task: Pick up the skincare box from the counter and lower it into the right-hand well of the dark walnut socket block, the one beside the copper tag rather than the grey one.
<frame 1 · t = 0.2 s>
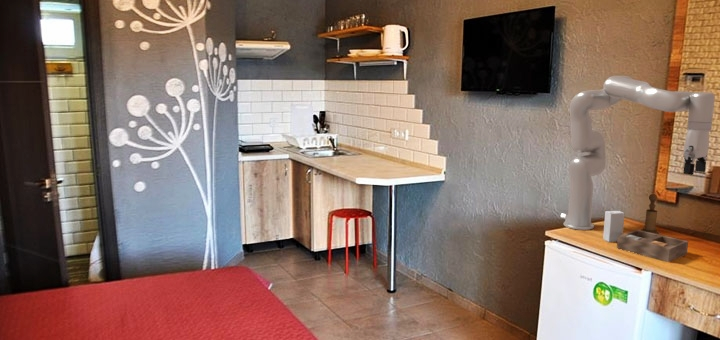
hand: (694, 172, 199), 31 cm above the worktop, tool pointing down, fingers open, 9 cm apart
skincare box: (612, 241, 219), on the worktop
socket block: (651, 251, 206), on the worktop
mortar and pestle: (649, 236, 225), on the worktop
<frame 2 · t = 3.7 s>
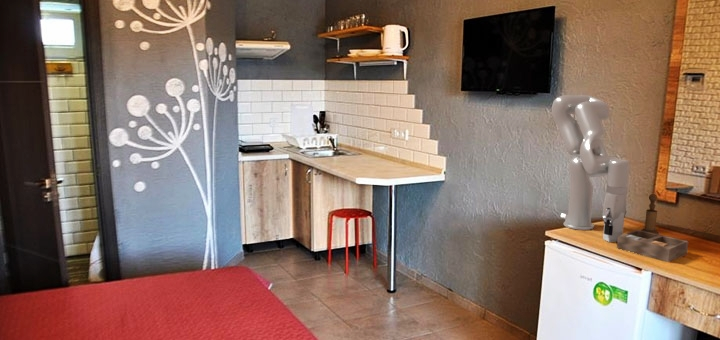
hand: (613, 232, 218), 3 cm above the worktop, tool pointing down, fingers closed on skincare box, 7 cm apart
skincare box: (612, 241, 219), on the worktop, touching gripper
everything else where it was.
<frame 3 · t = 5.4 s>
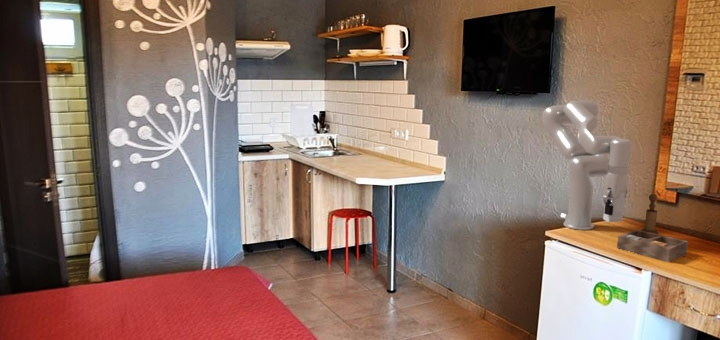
hand: (613, 212, 218), 12 cm above the worktop, tool pointing down, fingers closed on skincare box, 7 cm apart
skincare box: (612, 221, 218), point 8 cm above the worktop, touching gripper
everything else where it was.
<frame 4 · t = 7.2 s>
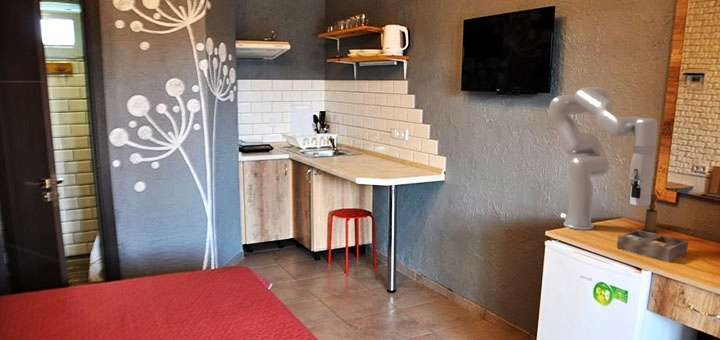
hand: (640, 196, 208), 20 cm above the worktop, tool pointing down, fingers closed on skincare box, 7 cm apart
skincare box: (639, 205, 209), point 17 cm above the worktop, touching gripper
everything else where it was.
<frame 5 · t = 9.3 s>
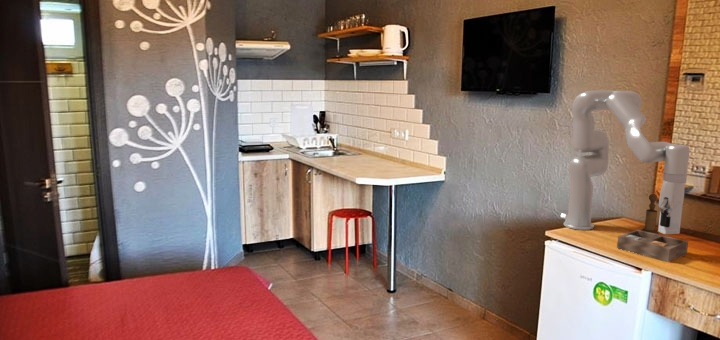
hand: (669, 224, 201), 11 cm above the worktop, tool pointing down, fingers closed on skincare box, 7 cm apart
skincare box: (668, 233, 202), point 8 cm above the worktop, touching gripper
everything else where it was.
when the fingers open (7 cm above the worktop, at t = 10.8 s): skincare box drops 2 cm, resting on socket block.
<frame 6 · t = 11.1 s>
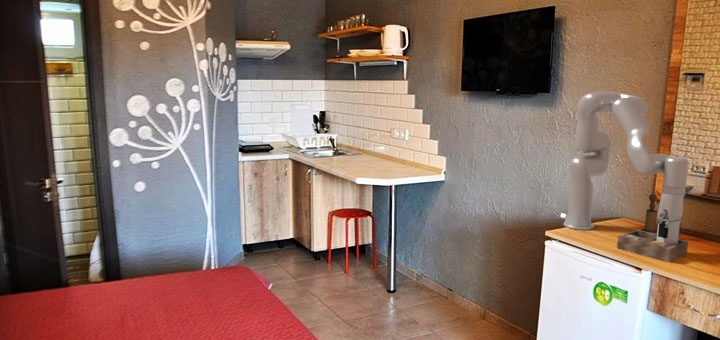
hand: (668, 235, 202), 7 cm above the worktop, tool pointing down, fingers open, 9 cm apart
skincare box: (665, 251, 203), point 1 cm above the worktop, touching socket block
everything else where it was.
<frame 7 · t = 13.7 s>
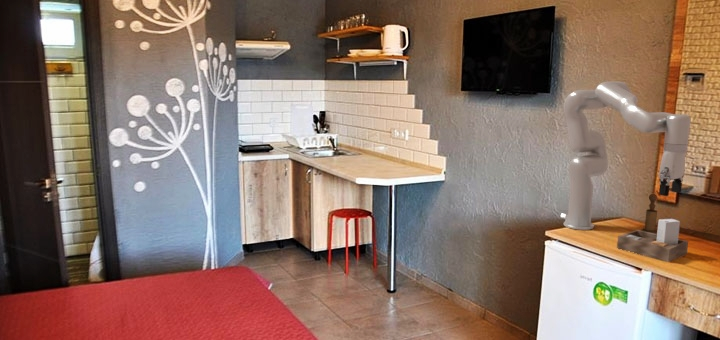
hand: (669, 193, 201), 23 cm above the worktop, tool pointing down, fingers open, 9 cm apart
nothing on the worktop moved.
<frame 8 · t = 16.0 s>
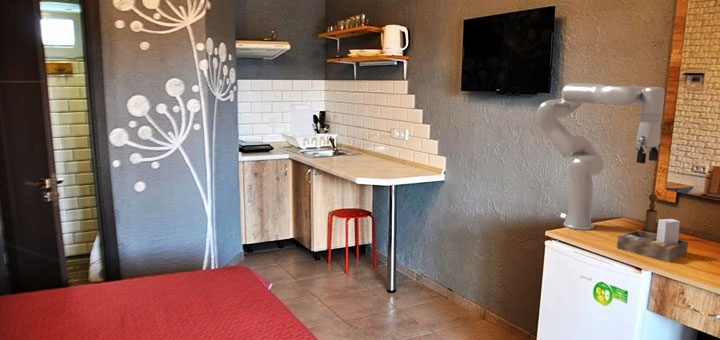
hand: (646, 161, 214), 32 cm above the worktop, tool pointing down, fingers open, 9 cm apart
nothing on the worktop moved.
at the end: skincare box 0.5 cm from the target spot on the socket block, point 0.8 cm above the socket block's base; skincare box tilted 0°; the gripper is holding nothing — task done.
